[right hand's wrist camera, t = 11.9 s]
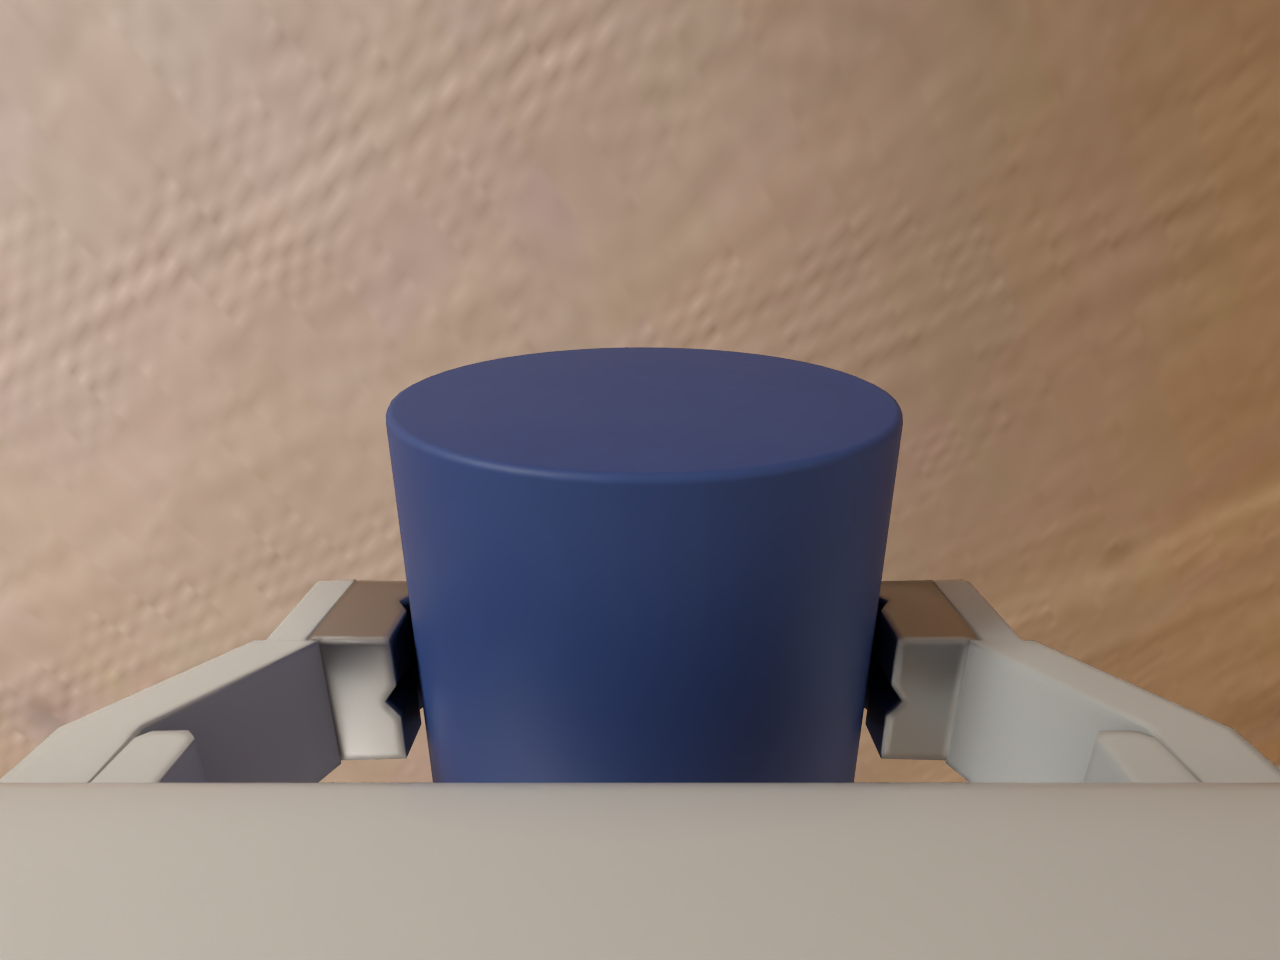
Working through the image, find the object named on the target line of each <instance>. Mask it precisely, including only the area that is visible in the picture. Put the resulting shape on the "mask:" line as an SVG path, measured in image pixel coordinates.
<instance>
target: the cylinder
mask: <svg viewBox="0 0 1280 960" xmlns="http://www.w3.org/2000/svg"><path fill="white" fill-rule="evenodd" d="M902 425H903V418H902V412H901V409H900V407H899V405H898V403H897V402H896V400H895V399H894V398H893V397H892V396H891V395H889V394H888V393H887V392H886V391H884V390H882V389H881V388H879V387H877V386H876V385H874V384H871V383H869V382H867V381H865V380H862V379H860V378H858V377H855V376H852V375H850V374H847V373H844V372H841V371H838V370H834V369H830V368H827V367H823V366H819V365H815V364H810V363H806V362H801V361H796V360H790V359H785V358H779V357H772V356H765V355H758V354H749V353H740V352H730V351H718V350H704V349H685V348H599V349H581V350H567V351H555V352H545V353H536V354H527V355H520V356H513V357H507V358H501V359H495V360H490V361H484V362H480V363H475V364H471V365H467V366H463V367H459V368H456V369H452V370H448V371H445V372H442V373H440V374H437V375H434V376H431V377H429V378H426V379H424V380H422V381H420V382H418V383H415V384H413V385H411V386H410V387H408V388H406V389H405V390H403V391H402V392H400V393H399V394H398V395H397V396H396V397H395V398H394V399H393V400H392V401H391V403H390V405H389V407H388V410H387V413H386V426H387V433H388V441H389V449H390V456H391V464H392V472H393V479H394V487H395V495H396V502H397V510H398V518H399V525H400V533H401V541H402V548H403V556H404V564H405V571H406V579H407V587H408V594H409V602H410V610H411V617H412V625H413V632H414V640H415V648H416V655H417V663H418V671H419V678H420V686H421V694H422V701H423V709H424V717H425V724H426V732H427V740H428V747H429V755H430V763H431V770H432V778H433V783H854V776H855V769H856V762H857V754H858V747H859V740H860V732H861V725H862V718H863V711H864V703H865V696H866V689H867V681H868V674H869V667H870V659H871V652H872V645H873V637H874V630H875V623H876V615H877V608H878V601H879V594H880V586H881V579H882V572H883V564H884V557H885V550H886V542H887V535H888V528H889V520H890V513H891V506H892V499H893V491H894V484H895V477H896V469H897V462H898V455H899V447H900V440H901V433H902Z"/></svg>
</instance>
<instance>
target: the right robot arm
mask: <svg viewBox="0 0 1280 960" xmlns="http://www.w3.org/2000/svg"><path fill="white" fill-rule="evenodd" d="M422 707H423V701H422V694H421V686H420V678H419V671H418V663H417V655H416V648H415V640H414V632H413V625H412V617H411V610H410V602H409V594H408V587H407V581H365V580H360V581H357V580H325V581H318V582H317V583H316V584H315V585H314V586H313V587H312V588H311V590H310V591H309V592H308V593H307V594H306V595H305V596H304V598H303V599H302V600H301V601H300V602H299V603H298V604H297V605H296V607H295V608H294V609H293V610H292V611H291V612H290V613H289V615H288V616H287V617H286V618H285V619H284V620H283V621H282V623H281V624H280V625H279V626H278V627H277V628H276V629H275V630H274V632H273V633H272V634H271V635H270V636H269V637H268V638H267V640H254V641H252V642H249V643H247V644H245V645H243V646H240V647H238V648H236V649H234V650H232V651H229V652H227V653H225V654H223V655H220V656H218V657H216V658H214V659H211V660H209V661H207V662H205V663H202V664H200V665H198V666H196V667H193V668H191V669H189V670H187V671H185V672H182V673H180V674H178V675H176V676H173V677H171V678H169V679H167V680H164V681H162V682H160V683H158V684H155V685H153V686H151V687H149V688H146V689H144V690H142V691H140V692H137V693H135V694H133V695H131V696H129V697H126V698H124V699H122V700H120V701H117V702H115V703H113V704H111V705H108V706H106V707H104V708H102V709H99V710H97V711H95V712H93V713H90V714H88V715H86V716H84V717H82V718H79V719H77V720H75V721H73V722H70V723H68V724H66V725H64V726H61V727H59V728H58V729H57V730H56V731H54V732H53V733H52V734H51V735H50V736H49V737H48V738H46V739H45V740H44V741H43V742H42V743H41V744H40V745H39V746H37V747H36V748H35V749H34V750H33V751H32V752H31V753H30V754H28V755H27V756H26V757H25V758H24V759H23V760H22V761H20V762H19V763H18V764H17V765H16V766H15V767H14V768H13V769H11V770H10V771H9V772H8V773H7V774H6V775H5V776H4V777H2V778H1V779H0V960H1280V770H1279V769H1278V768H1277V767H1276V766H1275V765H1274V764H1273V763H1271V762H1270V761H1269V760H1268V759H1267V758H1266V757H1265V756H1263V755H1262V754H1261V753H1260V752H1259V751H1258V750H1257V749H1255V748H1254V747H1253V746H1252V745H1251V744H1250V743H1249V742H1247V741H1246V740H1245V739H1244V738H1243V737H1242V736H1241V735H1239V734H1238V733H1237V732H1236V731H1235V730H1234V729H1232V728H1230V727H1228V726H1226V725H1223V724H1221V723H1219V722H1217V721H1214V720H1212V719H1210V718H1208V717H1205V716H1203V715H1201V714H1199V713H1196V712H1194V711H1192V710H1190V709H1187V708H1185V707H1183V706H1181V705H1178V704H1176V703H1174V702H1172V701H1169V700H1167V699H1165V698H1162V697H1160V696H1158V695H1156V694H1153V693H1151V692H1149V691H1147V690H1144V689H1142V688H1140V687H1138V686H1135V685H1133V684H1131V683H1129V682H1126V681H1124V680H1122V679H1120V678H1117V677H1115V676H1113V675H1111V674H1108V673H1106V672H1104V671H1102V670H1099V669H1097V668H1095V667H1093V666H1090V665H1088V664H1086V663H1084V662H1081V661H1079V660H1077V659H1075V658H1072V657H1070V656H1068V655H1066V654H1063V653H1061V652H1059V651H1057V650H1054V649H1052V648H1050V647H1048V646H1045V645H1043V644H1041V643H1039V642H1036V641H1034V640H1021V639H1020V637H1019V636H1018V635H1017V634H1016V633H1015V632H1014V631H1013V630H1012V629H1011V627H1010V626H1009V625H1008V624H1007V623H1006V622H1005V621H1004V620H1003V619H1002V617H1001V616H1000V615H999V614H998V613H997V612H996V611H995V610H994V609H993V607H992V606H991V605H990V604H989V603H988V602H987V601H986V600H985V599H984V597H983V596H982V595H981V594H980V593H979V592H978V591H977V590H976V589H975V587H974V586H973V585H972V584H971V583H970V582H968V581H965V580H962V579H961V580H939V581H932V580H920V581H881V586H880V594H879V601H878V608H877V615H876V623H875V630H874V637H873V645H872V652H871V659H870V667H869V674H868V681H867V689H866V696H865V703H864V708H866V709H867V716H866V726H867V728H868V730H869V733H870V735H871V737H872V739H873V741H874V744H875V746H876V748H877V750H878V753H879V755H880V757H881V758H882V759H919V760H947V761H946V763H947V764H948V765H949V766H950V767H952V768H953V769H954V770H955V771H956V772H958V773H959V774H960V775H961V776H963V777H964V778H965V779H966V780H967V781H969V782H970V783H318V782H319V781H320V780H322V779H323V778H324V777H325V776H327V775H328V774H329V773H330V772H331V771H333V770H334V769H335V768H336V767H337V766H339V765H340V764H341V760H368V759H403V758H407V756H408V753H409V751H410V749H411V746H412V744H413V742H414V739H415V737H416V735H417V733H418V730H419V728H420V726H421V717H420V709H421V708H422Z"/></svg>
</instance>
